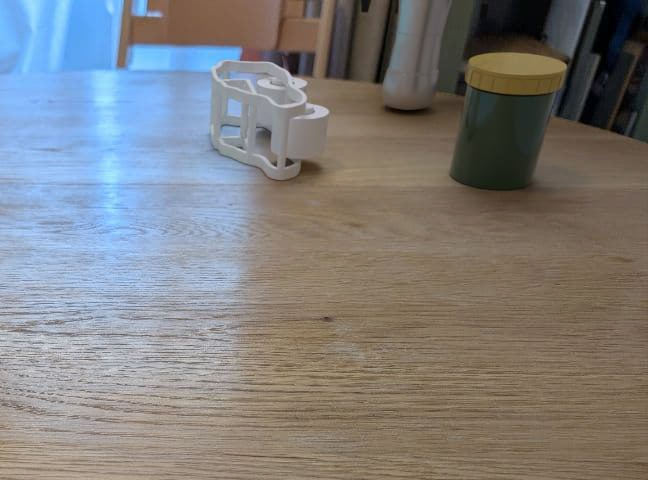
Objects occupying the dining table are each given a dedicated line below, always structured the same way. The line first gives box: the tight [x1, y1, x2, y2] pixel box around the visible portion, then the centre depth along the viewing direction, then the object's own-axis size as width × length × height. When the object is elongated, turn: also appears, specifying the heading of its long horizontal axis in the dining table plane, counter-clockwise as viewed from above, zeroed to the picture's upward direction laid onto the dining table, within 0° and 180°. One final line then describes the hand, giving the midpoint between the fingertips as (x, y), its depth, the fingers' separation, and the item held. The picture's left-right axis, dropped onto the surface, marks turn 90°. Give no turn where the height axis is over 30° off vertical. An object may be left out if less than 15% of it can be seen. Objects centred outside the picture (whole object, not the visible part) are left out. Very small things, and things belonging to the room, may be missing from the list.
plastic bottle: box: [381, 0, 453, 111], centre depth 101 cm, size 6×7×20 cm
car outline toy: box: [209, 59, 330, 181], centre depth 93 cm, size 20×11×7 cm, turn 1°
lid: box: [464, 52, 568, 95], centre depth 81 cm, size 9×9×2 cm
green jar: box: [448, 83, 558, 191], centre depth 84 cm, size 8×8×10 cm
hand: (422, 8), depth 100 cm, fingers open, 13 cm apart
